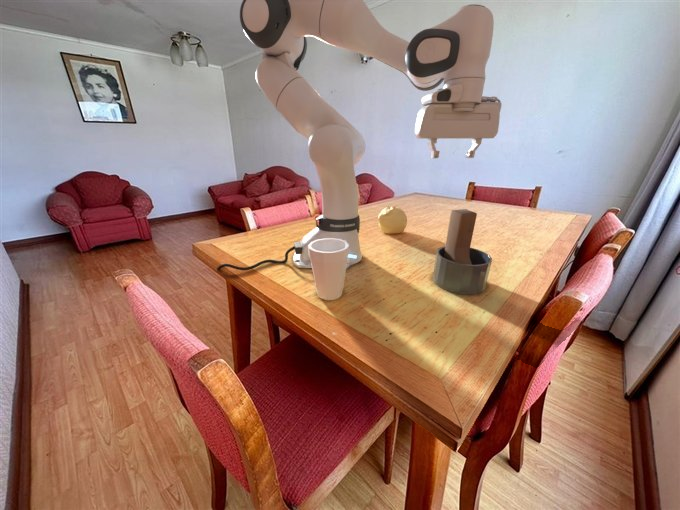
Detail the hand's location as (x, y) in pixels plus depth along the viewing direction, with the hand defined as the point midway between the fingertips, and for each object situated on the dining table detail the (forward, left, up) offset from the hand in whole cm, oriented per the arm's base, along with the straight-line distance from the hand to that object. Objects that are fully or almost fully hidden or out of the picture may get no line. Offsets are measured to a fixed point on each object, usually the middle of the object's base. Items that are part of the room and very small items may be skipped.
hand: (451, 158), depth 68 cm
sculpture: (-4, +34, -31) cm, 46 cm away
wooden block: (+2, -10, -30) cm, 32 cm away
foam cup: (-33, -12, -31) cm, 47 cm away
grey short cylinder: (+2, -8, -31) cm, 32 cm away
